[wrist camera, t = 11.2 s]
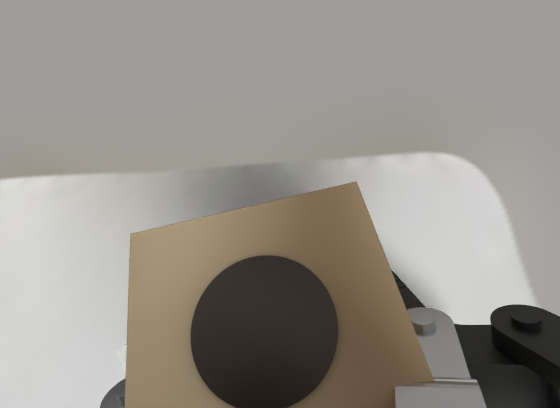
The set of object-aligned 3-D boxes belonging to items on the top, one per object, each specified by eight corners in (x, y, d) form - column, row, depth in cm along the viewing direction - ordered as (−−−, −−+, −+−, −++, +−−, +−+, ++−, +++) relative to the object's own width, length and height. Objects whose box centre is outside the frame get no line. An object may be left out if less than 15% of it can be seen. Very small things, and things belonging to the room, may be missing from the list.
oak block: (249, 453, 13) (112, 560, 5) (233, 322, 16) (125, 230, 7) (375, 423, 13) (476, 472, 5) (338, 297, 16) (358, 176, 7)
